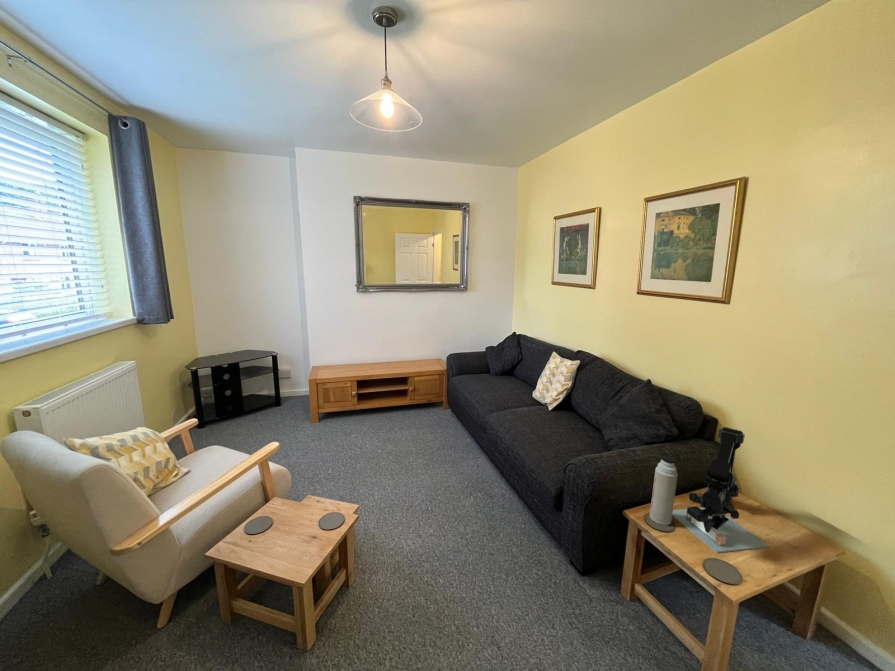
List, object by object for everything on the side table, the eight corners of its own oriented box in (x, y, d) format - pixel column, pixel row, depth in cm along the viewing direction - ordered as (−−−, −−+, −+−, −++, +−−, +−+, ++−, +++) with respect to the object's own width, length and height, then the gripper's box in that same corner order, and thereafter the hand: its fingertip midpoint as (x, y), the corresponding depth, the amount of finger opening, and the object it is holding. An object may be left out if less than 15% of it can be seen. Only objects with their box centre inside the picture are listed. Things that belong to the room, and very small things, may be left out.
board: (713, 507, 158) (713, 506, 158) (769, 547, 135) (769, 545, 135) (667, 511, 154) (667, 510, 154) (716, 552, 131) (716, 551, 131)
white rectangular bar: (690, 522, 147) (691, 515, 146) (696, 521, 147) (697, 515, 147) (719, 545, 134) (720, 537, 133) (725, 544, 134) (726, 537, 134)
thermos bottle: (647, 518, 149) (654, 458, 145) (652, 510, 155) (660, 451, 151) (668, 528, 144) (676, 465, 140) (673, 519, 149) (681, 458, 145)
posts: (710, 509, 157) (711, 501, 156) (718, 514, 154) (719, 506, 153) (681, 517, 151) (682, 508, 150) (689, 522, 148) (690, 513, 147)
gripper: (716, 482, 146) (711, 516, 149) (678, 485, 143) (673, 520, 146) (743, 499, 136) (736, 535, 138) (701, 502, 132) (696, 539, 135)
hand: (709, 531), depth 139 cm, fingers closed on white rectangular bar, 2 cm apart
